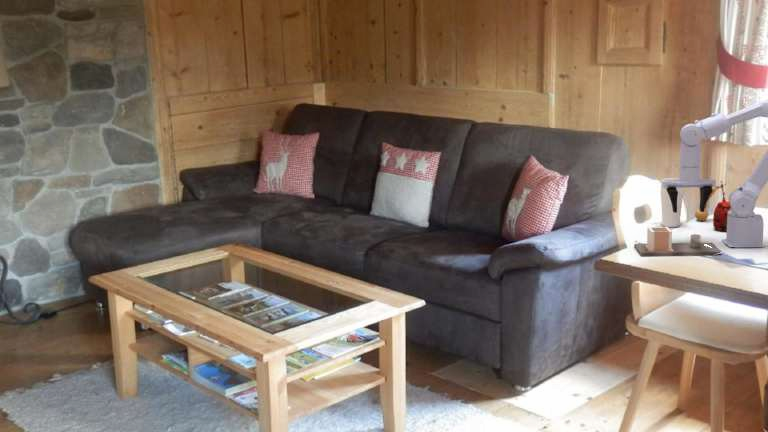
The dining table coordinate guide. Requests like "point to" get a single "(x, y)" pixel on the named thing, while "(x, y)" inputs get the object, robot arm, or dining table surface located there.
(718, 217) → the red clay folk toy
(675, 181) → the robot arm
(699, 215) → the tan bulb-shaped piece
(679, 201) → the white tall cup
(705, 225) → the dining table surface
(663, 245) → the sleeve
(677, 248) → the pin board
